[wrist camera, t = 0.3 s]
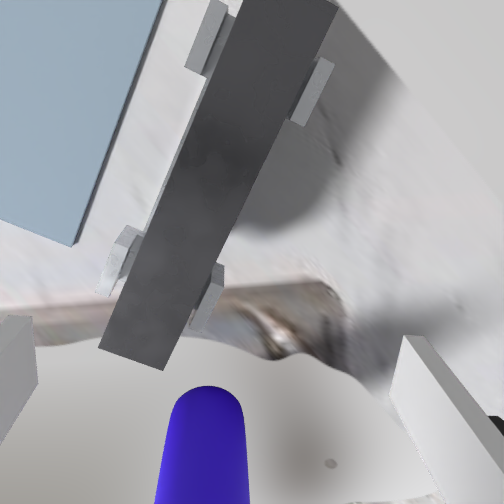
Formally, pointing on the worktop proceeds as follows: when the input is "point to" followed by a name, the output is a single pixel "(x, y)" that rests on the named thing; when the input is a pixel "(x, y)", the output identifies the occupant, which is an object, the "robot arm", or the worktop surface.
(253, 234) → the worktop surface
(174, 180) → the rail
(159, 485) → the bottle
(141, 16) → the mat
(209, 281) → the standards
